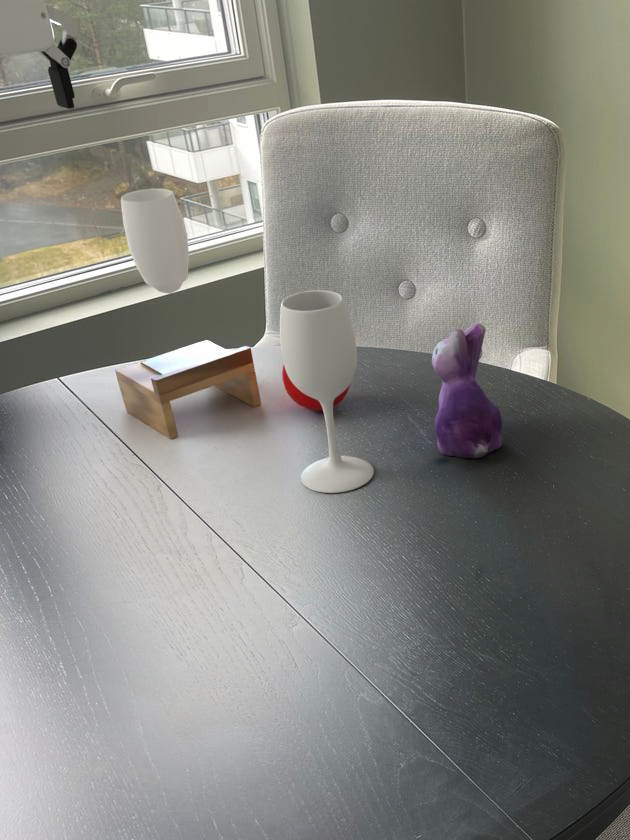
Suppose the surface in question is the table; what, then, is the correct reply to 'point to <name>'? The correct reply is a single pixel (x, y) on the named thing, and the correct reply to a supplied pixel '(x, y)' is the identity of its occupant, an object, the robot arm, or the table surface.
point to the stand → (185, 381)
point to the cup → (156, 237)
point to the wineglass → (322, 376)
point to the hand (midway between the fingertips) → (26, 114)
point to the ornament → (305, 399)
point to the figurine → (464, 398)
